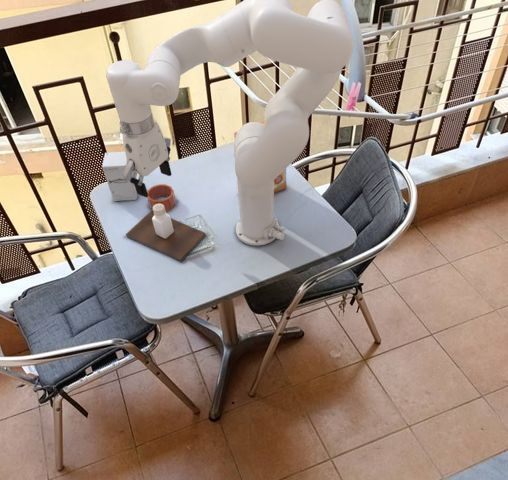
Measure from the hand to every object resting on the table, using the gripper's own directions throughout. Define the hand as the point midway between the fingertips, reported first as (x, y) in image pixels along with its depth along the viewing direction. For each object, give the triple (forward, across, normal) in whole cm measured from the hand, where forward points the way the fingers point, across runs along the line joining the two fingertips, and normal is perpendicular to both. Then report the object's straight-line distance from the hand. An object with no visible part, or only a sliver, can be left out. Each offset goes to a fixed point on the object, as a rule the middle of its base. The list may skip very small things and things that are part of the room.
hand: (155, 184), depth 120 cm
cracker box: (+18, +30, -13) cm, 38 cm away
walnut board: (+18, -1, +1) cm, 18 cm away
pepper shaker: (+17, -1, +1) cm, 17 cm away
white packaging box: (+18, +8, +24) cm, 31 cm away
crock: (+18, +10, +11) cm, 23 cm away
